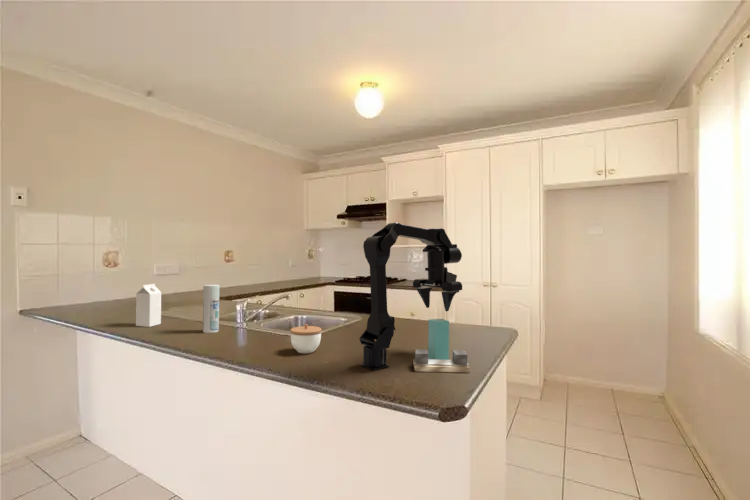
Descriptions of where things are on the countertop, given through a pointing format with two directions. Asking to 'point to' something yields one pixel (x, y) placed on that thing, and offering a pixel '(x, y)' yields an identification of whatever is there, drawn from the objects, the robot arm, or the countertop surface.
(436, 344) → the block
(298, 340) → the lidded jar
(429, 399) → the countertop surface
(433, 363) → the board
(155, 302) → the milk carton
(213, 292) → the spray can
